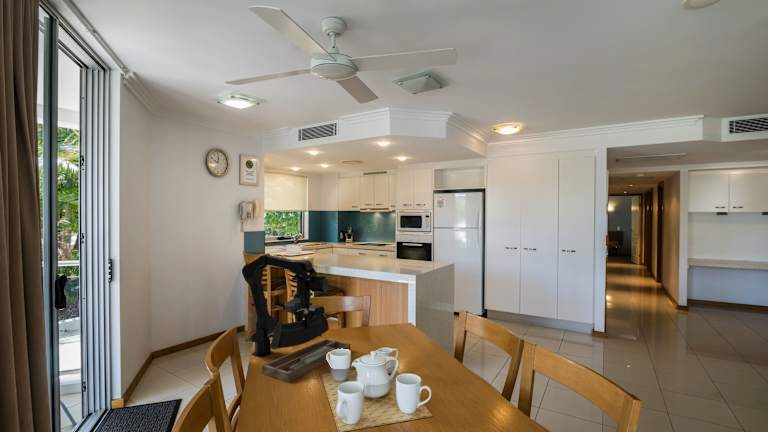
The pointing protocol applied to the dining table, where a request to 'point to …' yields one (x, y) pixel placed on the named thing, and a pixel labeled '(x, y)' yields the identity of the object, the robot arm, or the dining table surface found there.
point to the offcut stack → (311, 358)
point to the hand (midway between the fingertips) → (303, 328)
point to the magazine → (298, 332)
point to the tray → (282, 364)
